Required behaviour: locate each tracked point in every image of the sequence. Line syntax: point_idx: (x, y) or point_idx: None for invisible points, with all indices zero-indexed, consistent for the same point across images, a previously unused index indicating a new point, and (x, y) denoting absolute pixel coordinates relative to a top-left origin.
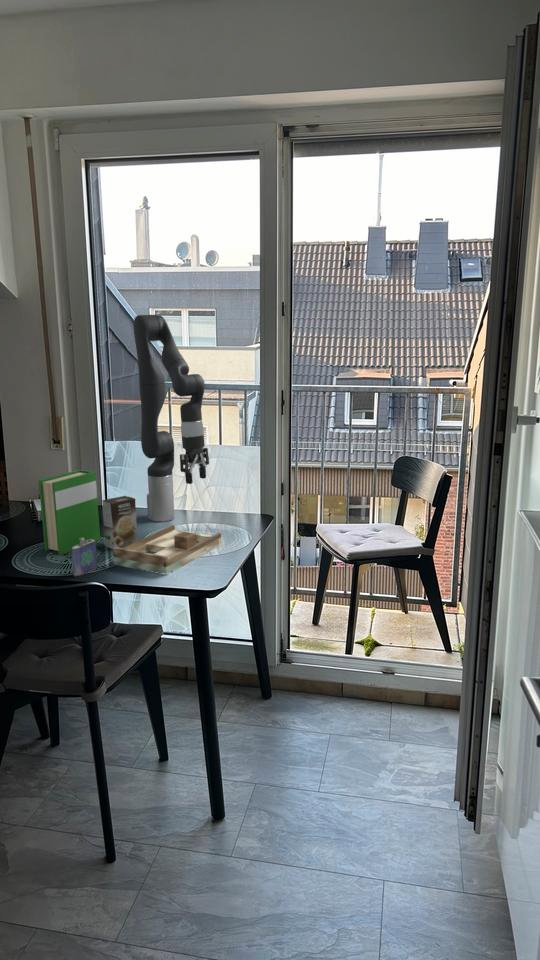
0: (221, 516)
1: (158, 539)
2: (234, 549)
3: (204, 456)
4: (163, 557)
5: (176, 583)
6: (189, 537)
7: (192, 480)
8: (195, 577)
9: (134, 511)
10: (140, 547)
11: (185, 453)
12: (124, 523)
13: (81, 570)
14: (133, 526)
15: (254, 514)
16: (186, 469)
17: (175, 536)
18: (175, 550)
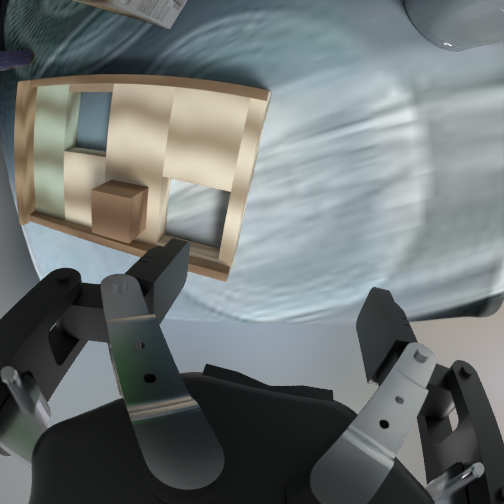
0: (486, 200)
1: (154, 97)
2: (208, 299)
3: (443, 456)
4: (19, 218)
5: (33, 239)
6: (102, 234)
7: (178, 294)
8: (59, 261)
9: (104, 3)
10: (87, 91)
11: (31, 466)
12: (94, 5)
13: (1, 69)
14: (130, 14)
15: (490, 283)
16: (55, 337)
17: (91, 194)
18: None
